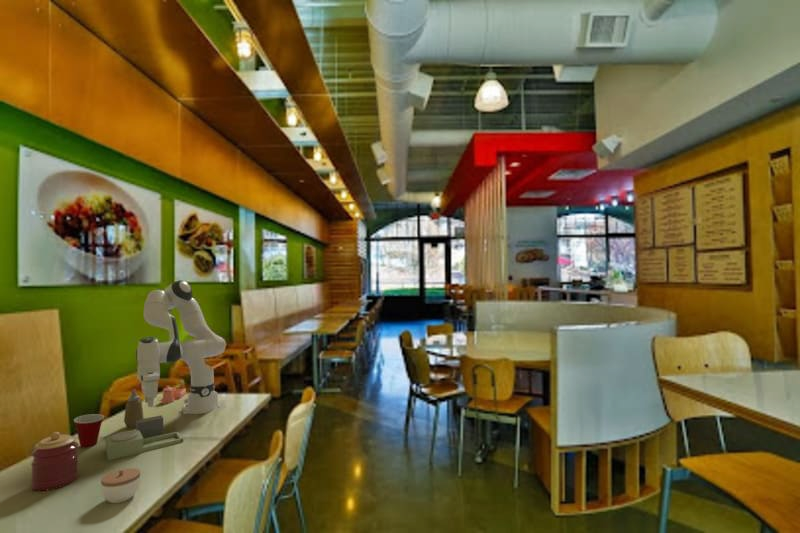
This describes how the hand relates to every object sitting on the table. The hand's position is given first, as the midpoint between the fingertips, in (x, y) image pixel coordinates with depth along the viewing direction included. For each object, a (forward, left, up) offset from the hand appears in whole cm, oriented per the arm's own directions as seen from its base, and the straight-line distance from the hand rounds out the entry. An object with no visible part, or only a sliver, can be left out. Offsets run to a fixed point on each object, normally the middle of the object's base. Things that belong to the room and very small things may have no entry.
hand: (149, 404), depth 193 cm
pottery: (-59, +20, -15) cm, 64 cm away
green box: (+13, -5, -15) cm, 20 cm away
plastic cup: (-6, -22, -15) cm, 27 cm away
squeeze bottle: (-20, -4, -15) cm, 25 cm away
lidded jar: (+57, -16, -15) cm, 61 cm away
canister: (+28, -33, -15) cm, 45 cm away
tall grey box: (0, 0, -15) cm, 15 cm away
